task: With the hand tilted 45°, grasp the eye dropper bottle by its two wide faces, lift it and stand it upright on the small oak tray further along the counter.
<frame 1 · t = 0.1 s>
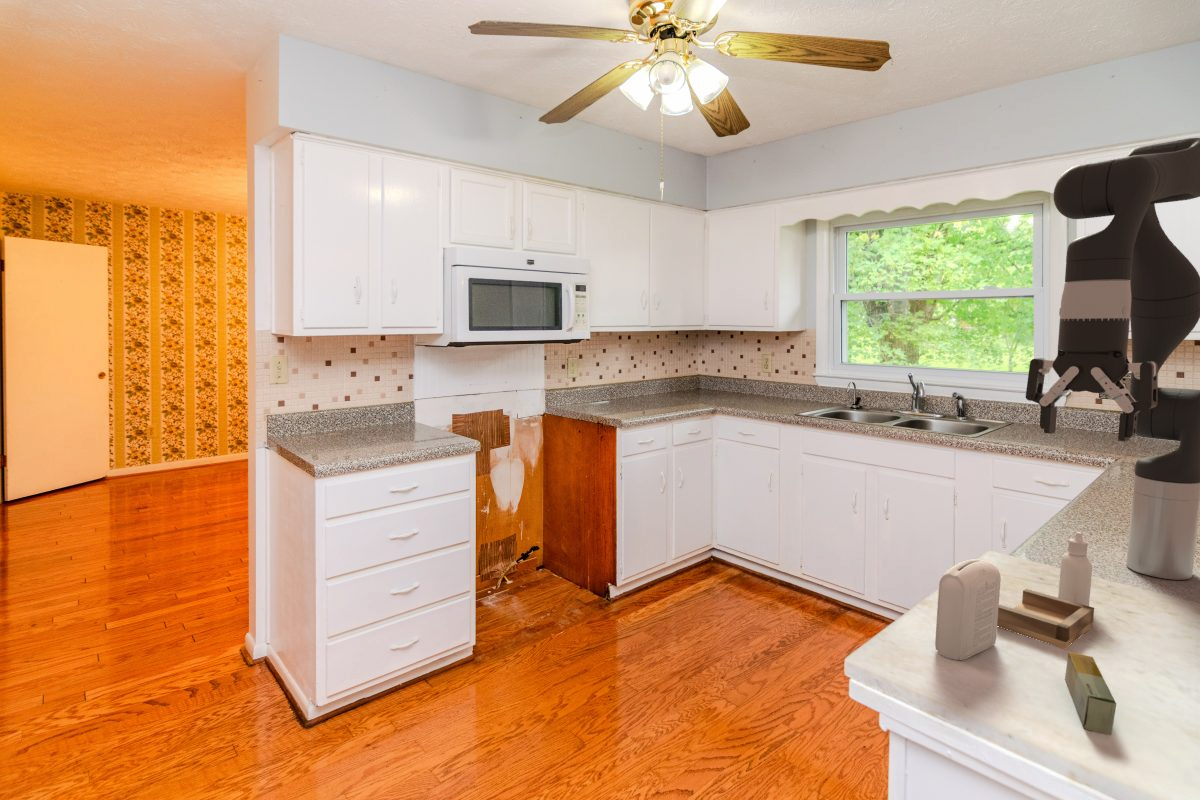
hand: (1085, 436, 91), 29 cm above the counter, tool pointing down, fingers open, 8 cm apart
medication box: (1087, 708, 78), on the counter
eye dropper bottle: (1072, 607, 106), on the counter
oak tray: (1043, 626, 99), on the counter
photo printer: (965, 649, 92), on the counter
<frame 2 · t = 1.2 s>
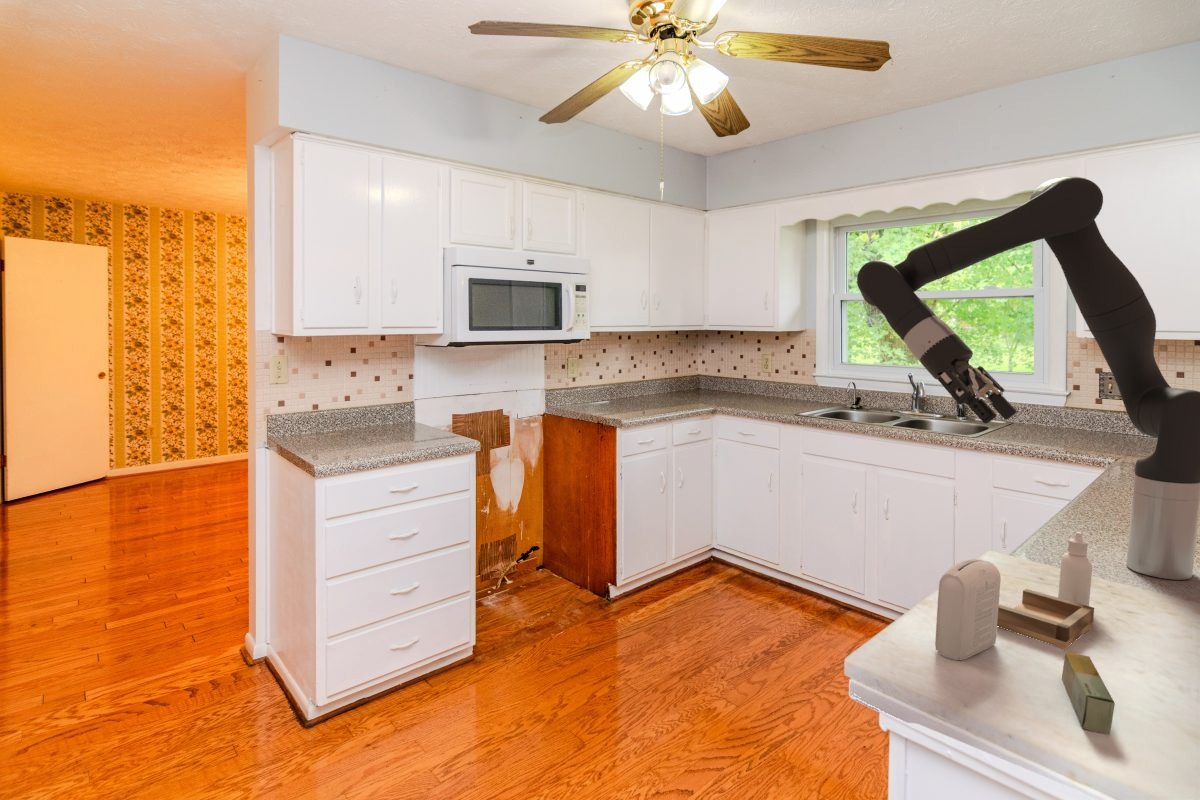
hand: (1001, 418, 112), 29 cm above the counter, tool tilted 45°, fingers open, 8 cm apart
nothing on the counter moved.
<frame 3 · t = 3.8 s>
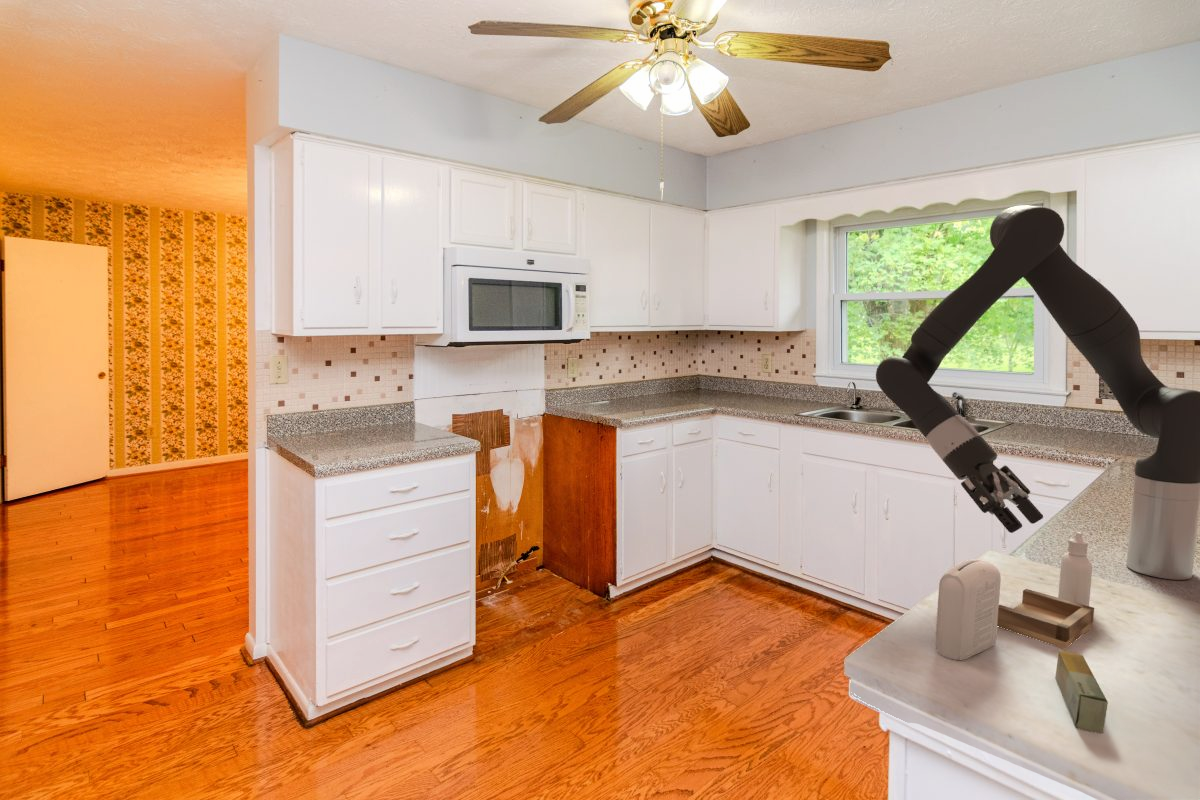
hand: (1027, 525, 110), 11 cm above the counter, tool tilted 45°, fingers open, 8 cm apart
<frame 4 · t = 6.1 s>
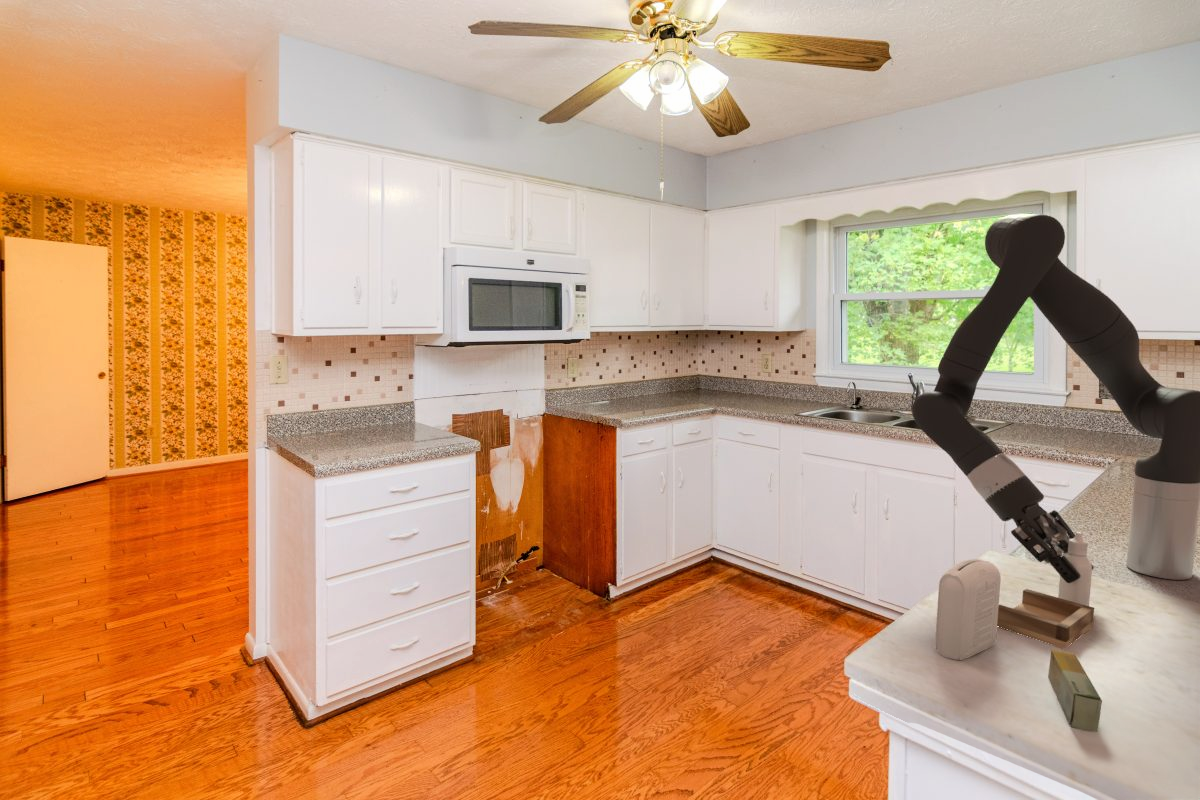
hand: (1081, 575, 105), 5 cm above the counter, tool tilted 45°, fingers closed on eye dropper bottle, 5 cm apart
eye dropper bottle: (1072, 607, 106), on the counter, touching gripper
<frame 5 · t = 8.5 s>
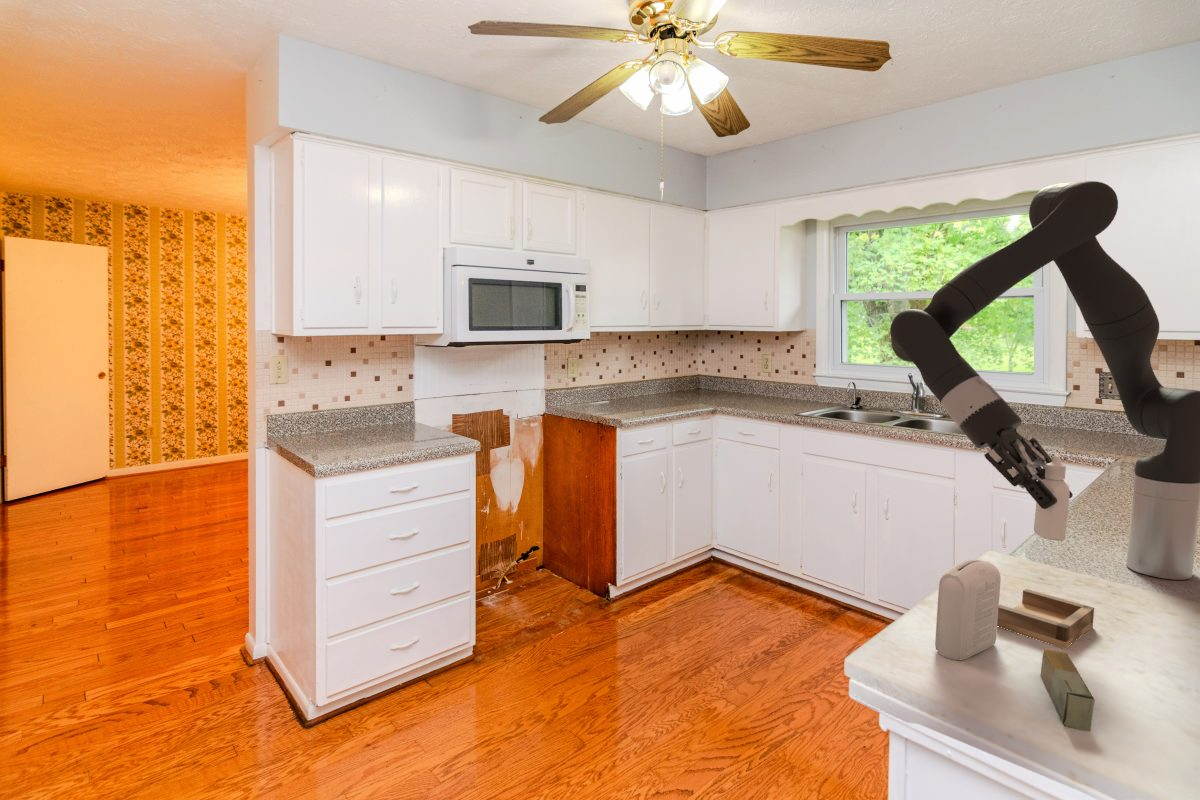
hand: (1058, 502, 97), 19 cm above the counter, tool tilted 45°, fingers closed on eye dropper bottle, 5 cm apart
eye dropper bottle: (1048, 536, 99), point 13 cm above the counter, touching gripper
when the fingers open (7 cm above the counter, at t = 11.2 s): eye dropper bottle stays where it is, resting on oak tray.
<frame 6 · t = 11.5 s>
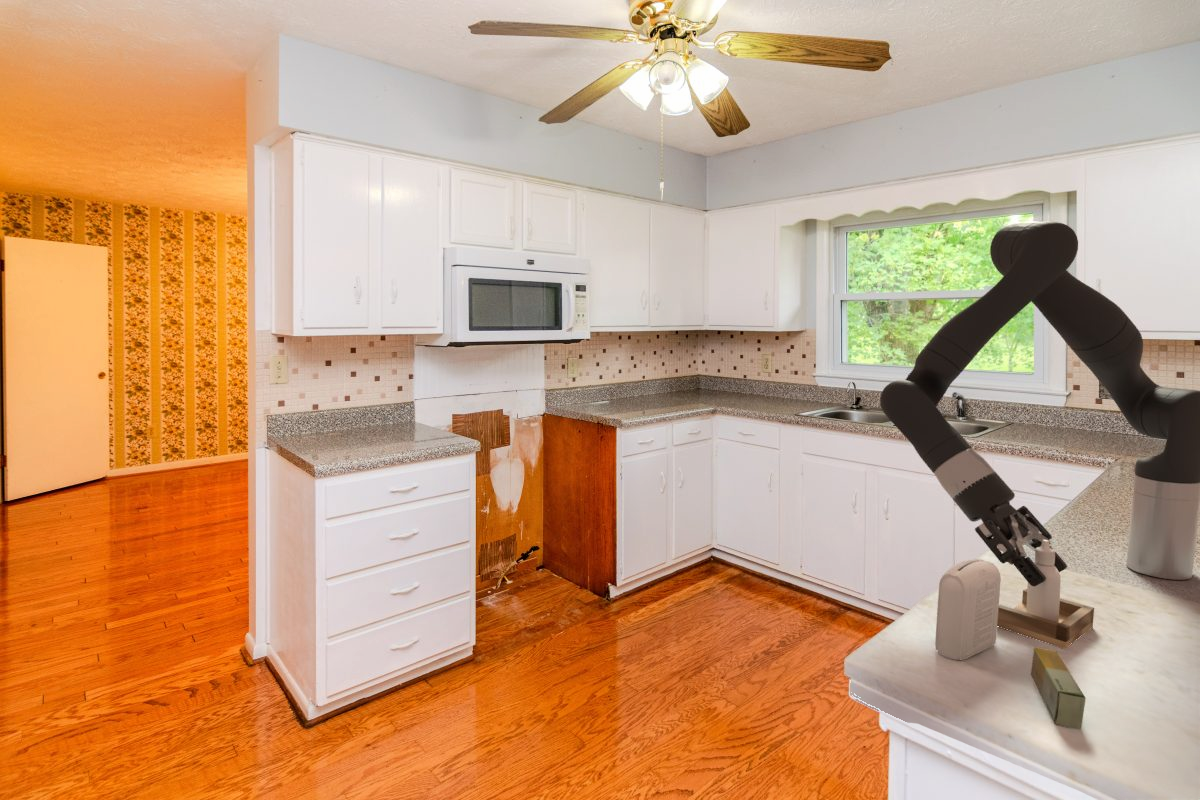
hand: (1051, 577, 97), 8 cm above the counter, tool tilted 45°, fingers open, 7 cm apart
eye dropper bottle: (1042, 620, 99), point 1 cm above the counter, touching oak tray
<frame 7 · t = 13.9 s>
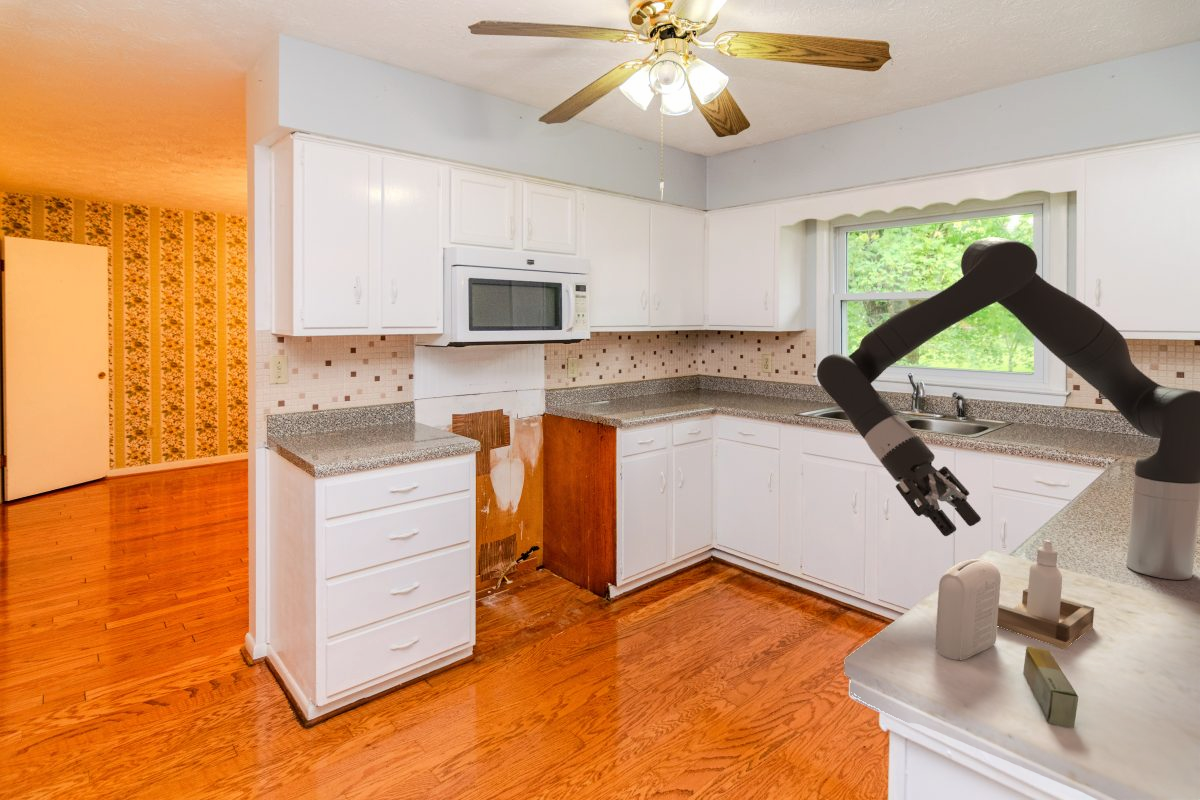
hand: (964, 528, 107), 12 cm above the counter, tool tilted 45°, fingers open, 8 cm apart
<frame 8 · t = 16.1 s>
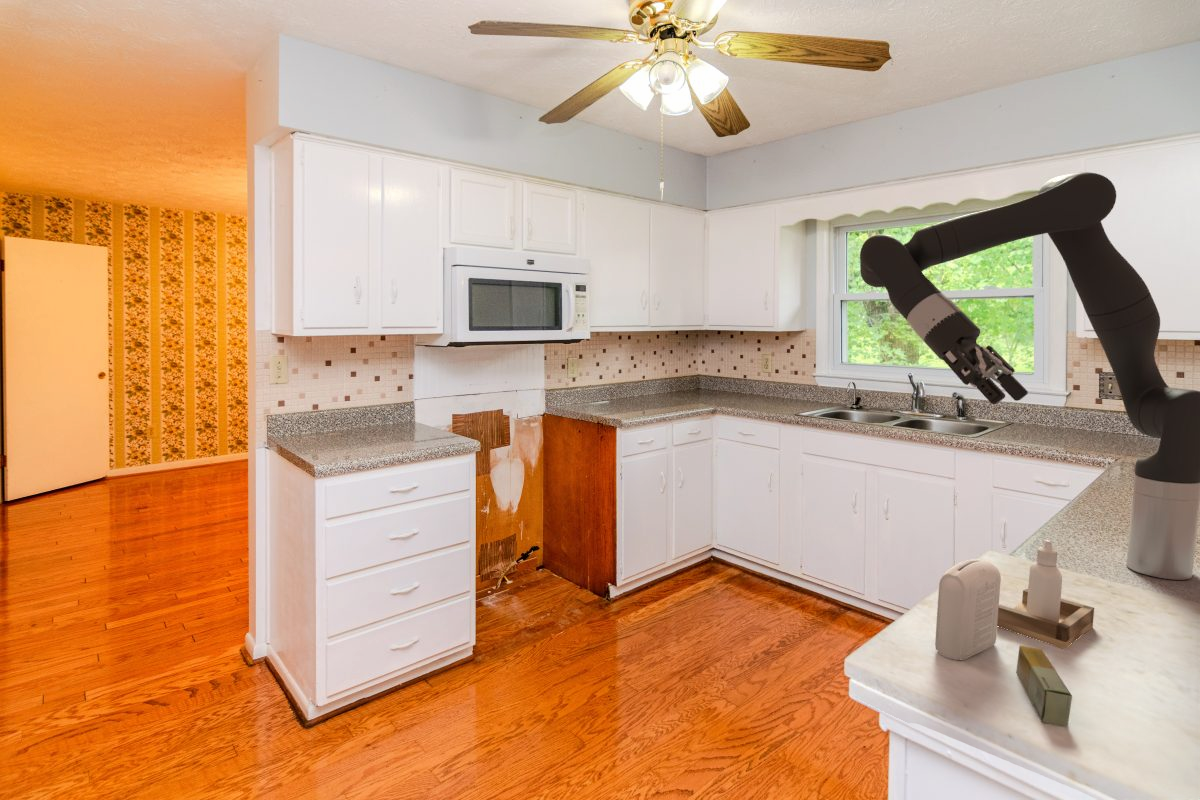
hand: (1011, 399, 106), 33 cm above the counter, tool tilted 45°, fingers open, 8 cm apart
at the end: eye dropper bottle inside the target area on the oak tray (0.2 cm from its centre), point 0.8 cm above the oak tray's base; eye dropper bottle tilted 0°; the gripper is holding nothing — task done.
